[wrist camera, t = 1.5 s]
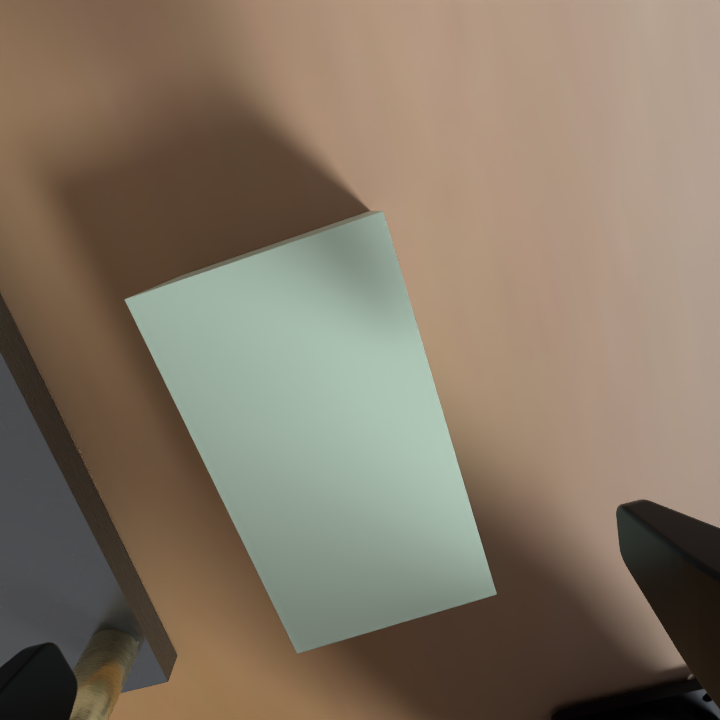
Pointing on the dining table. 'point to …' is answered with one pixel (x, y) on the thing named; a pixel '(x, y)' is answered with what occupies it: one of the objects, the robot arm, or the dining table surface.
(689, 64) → the dining table surface
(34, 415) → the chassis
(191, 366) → the pale green block
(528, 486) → the dining table surface
